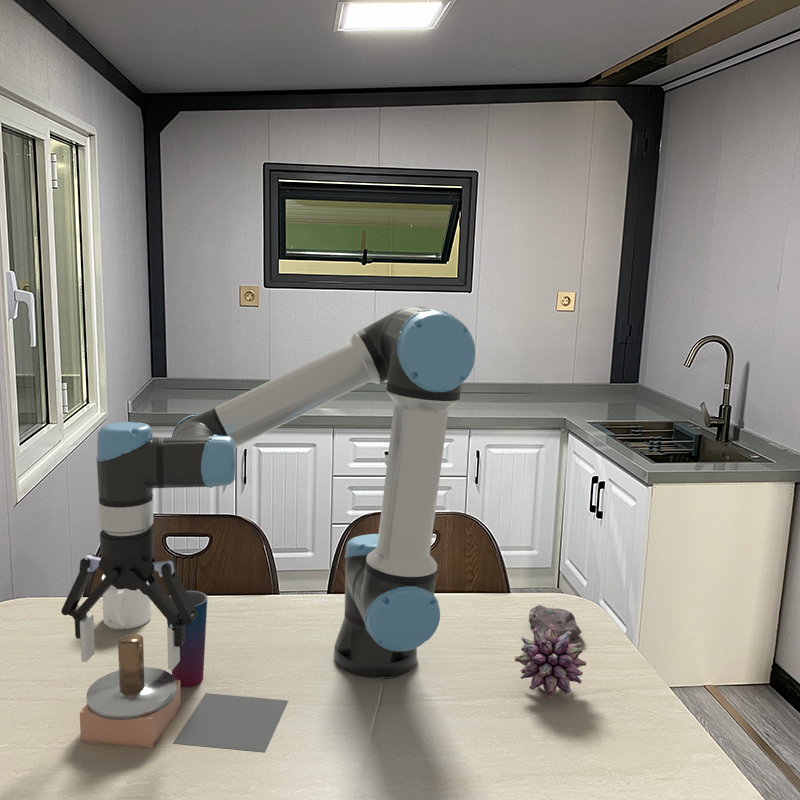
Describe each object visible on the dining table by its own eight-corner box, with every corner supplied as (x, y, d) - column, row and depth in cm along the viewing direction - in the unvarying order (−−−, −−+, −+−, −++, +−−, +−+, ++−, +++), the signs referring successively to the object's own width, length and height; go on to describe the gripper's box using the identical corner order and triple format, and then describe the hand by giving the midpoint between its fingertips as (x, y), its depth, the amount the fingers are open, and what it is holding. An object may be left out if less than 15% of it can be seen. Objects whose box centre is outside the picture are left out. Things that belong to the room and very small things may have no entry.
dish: (180, 708, 127) (180, 680, 127) (152, 750, 117) (151, 718, 116) (115, 702, 128) (114, 674, 128) (81, 743, 118) (79, 712, 117)
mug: (116, 608, 163) (114, 565, 161) (158, 611, 162) (157, 568, 160) (87, 635, 151) (85, 588, 149) (133, 638, 150) (131, 592, 148)
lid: (189, 677, 127) (188, 623, 126) (155, 723, 115) (154, 664, 113) (111, 670, 129) (109, 617, 127) (70, 715, 116) (67, 657, 114)
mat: (288, 702, 130) (288, 700, 130) (264, 754, 116) (264, 752, 116) (205, 695, 132) (205, 693, 131) (172, 745, 118) (172, 743, 118)
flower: (561, 721, 127) (566, 652, 125) (499, 692, 135) (503, 627, 133) (597, 694, 136) (602, 629, 134) (537, 668, 144) (541, 606, 142)
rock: (554, 617, 165) (555, 596, 164) (586, 641, 155) (588, 619, 154) (520, 622, 162) (521, 602, 161) (550, 648, 152) (552, 626, 151)
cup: (197, 694, 132) (196, 609, 129) (159, 689, 133) (157, 604, 130) (215, 674, 138) (214, 593, 136) (178, 669, 140) (177, 588, 137)
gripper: (217, 525, 119) (218, 656, 123) (59, 514, 122) (65, 643, 126) (199, 542, 112) (201, 681, 116) (32, 530, 115) (39, 666, 118)
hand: (130, 661), depth 121 cm, fingers open, 13 cm apart
